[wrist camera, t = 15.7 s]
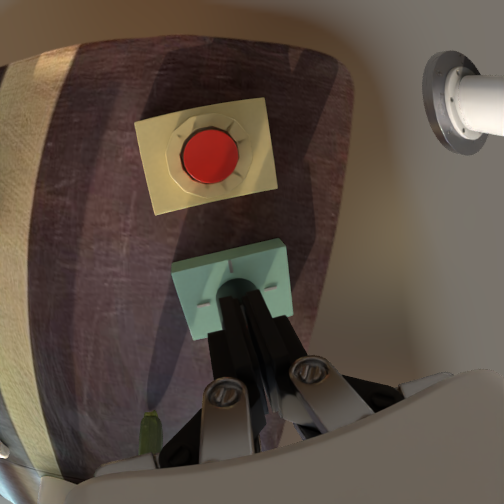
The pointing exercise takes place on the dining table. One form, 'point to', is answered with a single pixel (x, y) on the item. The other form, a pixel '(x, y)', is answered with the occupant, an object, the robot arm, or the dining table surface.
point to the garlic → (3, 450)
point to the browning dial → (234, 293)
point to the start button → (210, 156)
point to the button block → (177, 136)
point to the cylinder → (53, 490)
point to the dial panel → (224, 269)
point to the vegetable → (150, 434)
